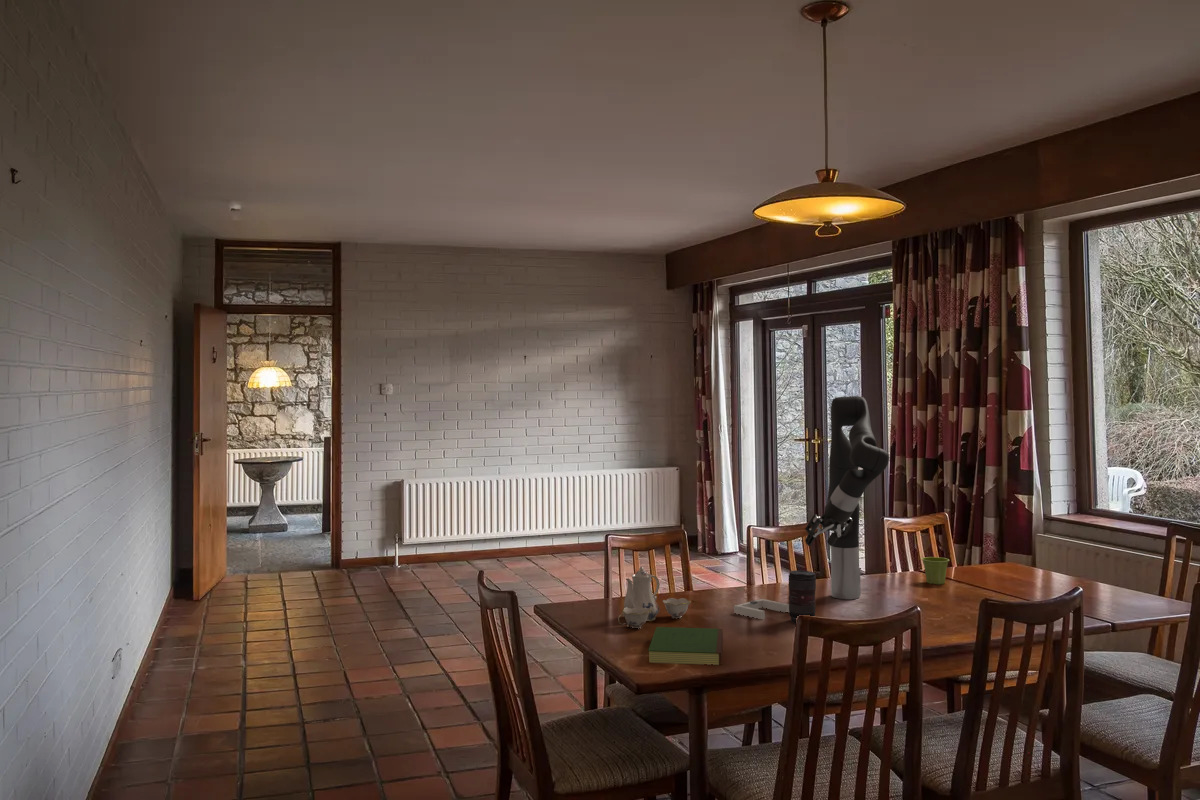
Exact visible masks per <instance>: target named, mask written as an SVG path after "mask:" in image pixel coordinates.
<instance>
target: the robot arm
mask: <svg viewBox="0 0 1200 800" xmlns="http://www.w3.org/2000/svg"><path fill="white" fill-rule="evenodd" d="M871 423H872V421H871V416H870V409H869V405H868V402H867V400H866V398H864V397H863V396H860V395H859V396H858V395H857V396H856V395H855V396H854V395H853V396H838V397H834V398H833V399H832V401H831V406H830V432H831V433H830V437H831V438H830V449H829V461H828V463H829V465H828V467H829V469H828V474H829V475H828V477H829V478H828V491H827V492H828V493H827V500H826V504H825V506H824V513H823V514H822V515H821V516H818V515H817V514H814V515H813V516H812V518H811V519H810V520H809V522H808V524H807V525H806V527H805V528H804V530H805V531H806V533H807V536H806V538H805V540H804V541H805V544H806V545H807V546H808V547H810V546H811V547H812V544H813V543H814V541H815V539H816V538H817V536H818V535H820V534H824V533H825V532H828V531H831V534H830V535H829V537H828V539H827V541H826V542H827V544H828V545H829V546H830V557H831V558H830V573H831V574H830V582H831V583H830V589H831V591H830V592H831V597H832V598H834V599H835V598H836V599H839V600H856V599H857V600H858V599H859V598H860V596H861V593H862V592H861V589H862V588H861V585H862V584H861V567H860V535H859V534H860V514H861V513H860V499H861V497H862V496H863V494H864V492H865V490H866V489H867V487H868V486H869V485H870V484H871V483H872V482H873V481H874V480H875V479H876V478H878V477H879V476H880V475H881V474H882V473H883V472H884V471H885V470H886V469H887V467H888V464H889V461H890V456H889V453H888V452H887V451H886V450H885V449H883V448H880V447H877V445H878V444H877V443H878V442H877V440H876V438H875V435H874V433H873V431H872V430H873V429H872V424H871ZM843 427H851V428H850V429H849V433H848V437H847V436H846V434H845V432H844V430H843ZM859 468H861V469H859ZM820 525H821V527H820Z"/></svg>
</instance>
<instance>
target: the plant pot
mask: <svg viewBox="0 0 1200 800" xmlns="http://www.w3.org/2000/svg"><path fill="white" fill-rule="evenodd" d="M921 560H922V563H923V567H924V572H925V578H926V580H925V581H926V583H927V584H929V585H933V584H934V585H944V584H945V583H946V576H947V568H948V564H949V562H950V559H949V558H945V557H939V556H937V557H935V556H927V557H922V558H921Z"/></svg>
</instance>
